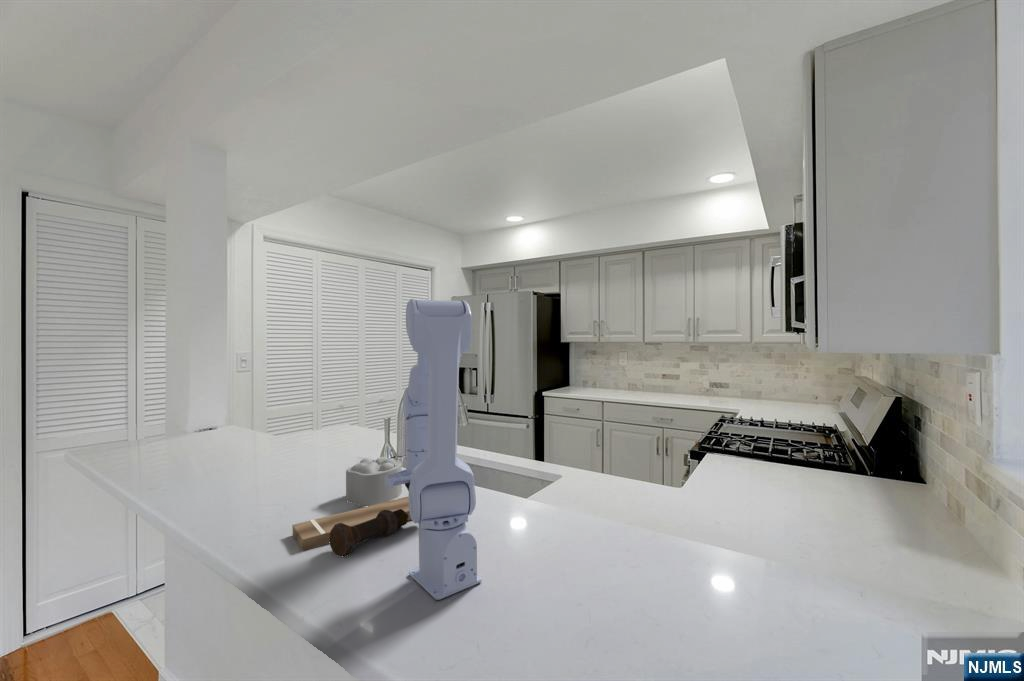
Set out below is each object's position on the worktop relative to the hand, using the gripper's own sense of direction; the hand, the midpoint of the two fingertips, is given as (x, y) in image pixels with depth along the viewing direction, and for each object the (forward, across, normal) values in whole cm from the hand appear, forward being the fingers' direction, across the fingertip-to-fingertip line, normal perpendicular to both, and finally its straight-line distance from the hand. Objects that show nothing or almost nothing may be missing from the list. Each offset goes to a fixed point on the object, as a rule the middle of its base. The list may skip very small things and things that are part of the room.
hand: (421, 515), depth 89 cm
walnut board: (+2, +10, -7) cm, 12 cm away
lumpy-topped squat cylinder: (+2, 0, -22) cm, 22 cm away
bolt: (+2, +10, 0) cm, 10 cm away
